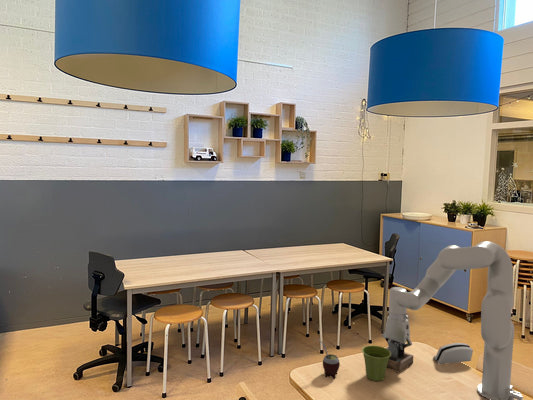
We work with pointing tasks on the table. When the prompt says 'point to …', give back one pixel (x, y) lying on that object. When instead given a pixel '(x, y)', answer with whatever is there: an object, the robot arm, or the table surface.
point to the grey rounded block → (454, 353)
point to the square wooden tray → (400, 363)
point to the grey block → (394, 351)
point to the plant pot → (376, 361)
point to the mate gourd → (330, 364)
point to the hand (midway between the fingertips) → (396, 354)
